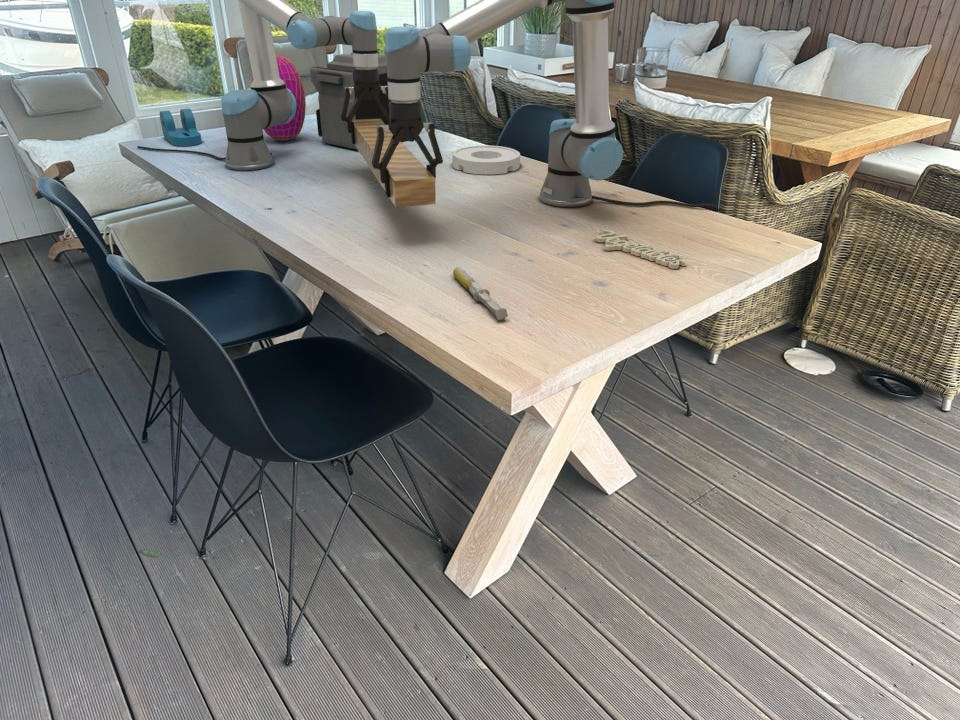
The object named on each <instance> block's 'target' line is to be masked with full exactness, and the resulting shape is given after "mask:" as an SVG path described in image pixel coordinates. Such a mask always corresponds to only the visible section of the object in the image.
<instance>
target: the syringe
mask: <svg viewBox="0 0 960 720" xmlns="http://www.w3.org/2000/svg"><path fill="white" fill-rule="evenodd" d="M452 274H453V277H454V279H455V280H457V281H458V282H459V283H460V285H462V287H464V289H466V290H467V291H468V293H470V295H471V296H472V298H473V300H474V302H477V303H478V302H480V303H482V304H483V305H484V306H485V307H486V308H487V309H488V310H489V311H490V312H491V313H492V314H493V315H494V316H495V317H496V320H497V321H503V320H504V319H506V318H507V317H509V314H508V310H507V308H506V307H502V306H501V305H500V303H498V302H497V301H496V300H494V299H493V298H492V297H491V296H490V295H491V293H490V290H488V289H486V288H483V287H482V286H481V285H480V284H479V283H478V282H477V281H476V280H474V278H473V277H471V275H469V274H468V273H467V272H466V270H465V269H464V268H463V267H462V266H456V267H454V268H453V271H452Z"/></svg>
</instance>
